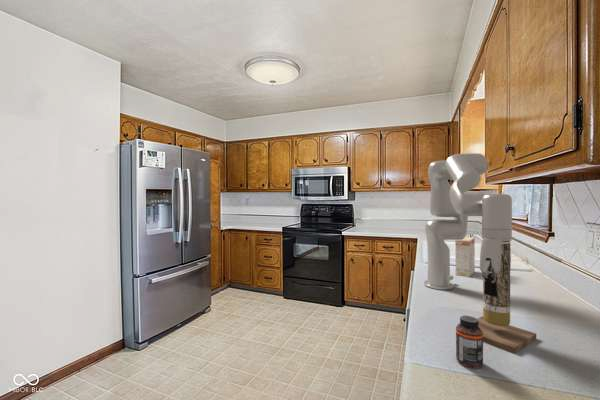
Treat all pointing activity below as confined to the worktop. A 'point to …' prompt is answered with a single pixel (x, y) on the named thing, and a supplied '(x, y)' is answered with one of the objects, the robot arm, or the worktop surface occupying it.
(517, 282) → the worktop surface
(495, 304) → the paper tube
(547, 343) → the worktop surface
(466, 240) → the coffeecake box
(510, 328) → the board
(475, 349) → the supplement bottle
